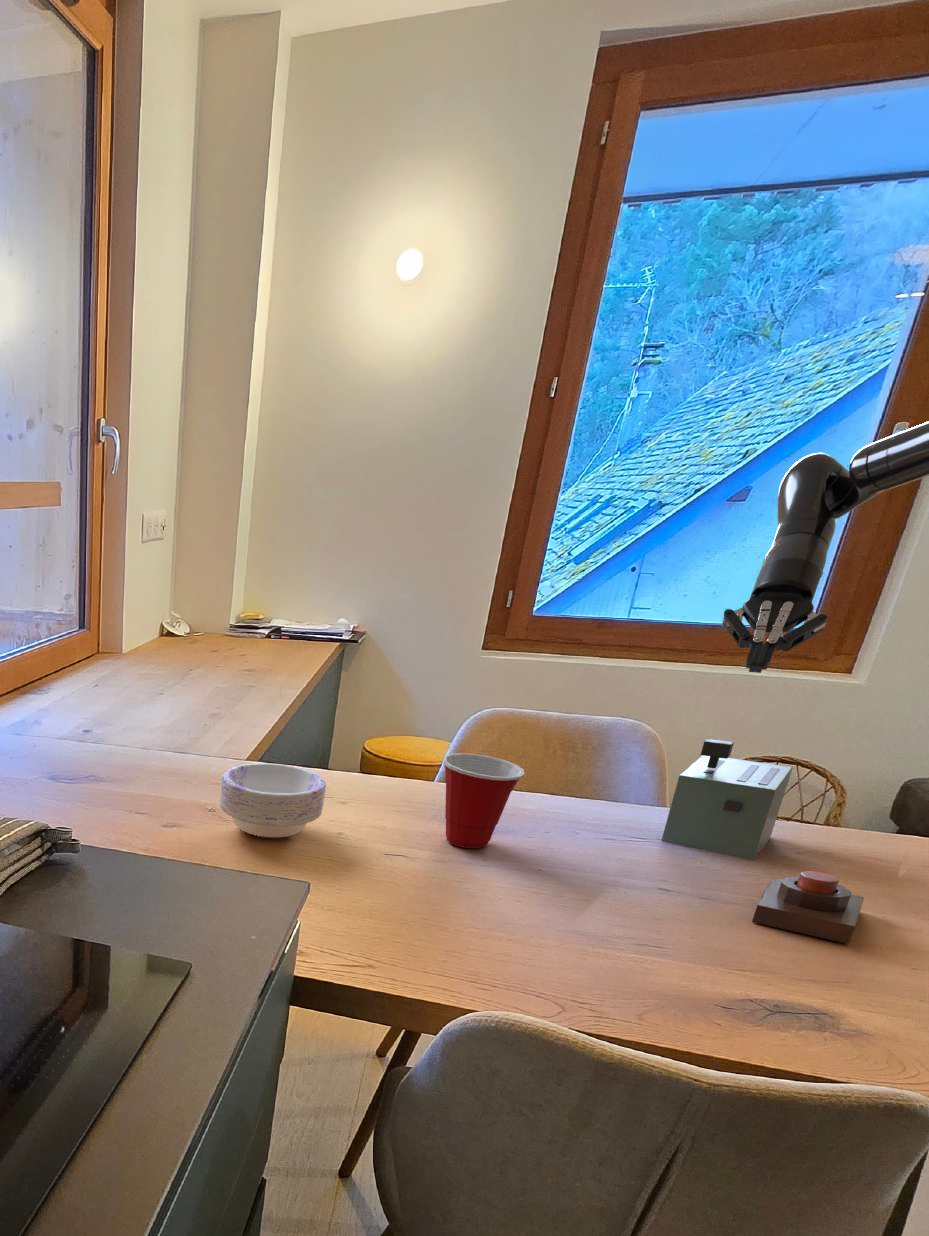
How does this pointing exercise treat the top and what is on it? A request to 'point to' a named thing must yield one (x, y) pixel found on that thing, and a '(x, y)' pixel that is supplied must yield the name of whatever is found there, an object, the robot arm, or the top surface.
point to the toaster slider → (716, 751)
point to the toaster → (726, 806)
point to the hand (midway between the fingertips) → (755, 669)
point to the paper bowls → (271, 798)
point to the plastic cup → (476, 796)
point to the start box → (809, 910)
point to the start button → (818, 882)
